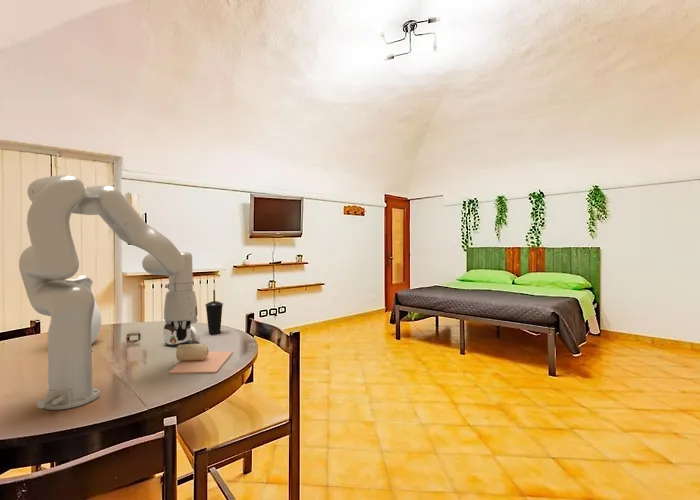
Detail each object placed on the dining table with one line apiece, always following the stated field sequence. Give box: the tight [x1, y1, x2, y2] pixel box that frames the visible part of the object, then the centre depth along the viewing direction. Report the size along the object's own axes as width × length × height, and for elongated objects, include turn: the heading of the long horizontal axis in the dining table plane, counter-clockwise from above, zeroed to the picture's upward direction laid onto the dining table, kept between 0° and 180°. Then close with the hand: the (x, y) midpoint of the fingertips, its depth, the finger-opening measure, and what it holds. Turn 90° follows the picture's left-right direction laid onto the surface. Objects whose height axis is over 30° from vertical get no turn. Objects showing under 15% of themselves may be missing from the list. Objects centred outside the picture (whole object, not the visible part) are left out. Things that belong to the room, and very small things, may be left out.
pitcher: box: [65, 274, 102, 344], centre depth 159 cm, size 24×17×28 cm
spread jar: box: [163, 321, 200, 348], centre depth 159 cm, size 12×11×12 cm
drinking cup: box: [205, 289, 224, 336], centre depth 175 cm, size 8×8×20 cm
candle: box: [175, 343, 210, 362], centre depth 136 cm, size 6×6×10 cm
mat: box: [168, 350, 234, 375], centre depth 135 cm, size 22×15×1 cm
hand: (181, 339), depth 134 cm, fingers closed
